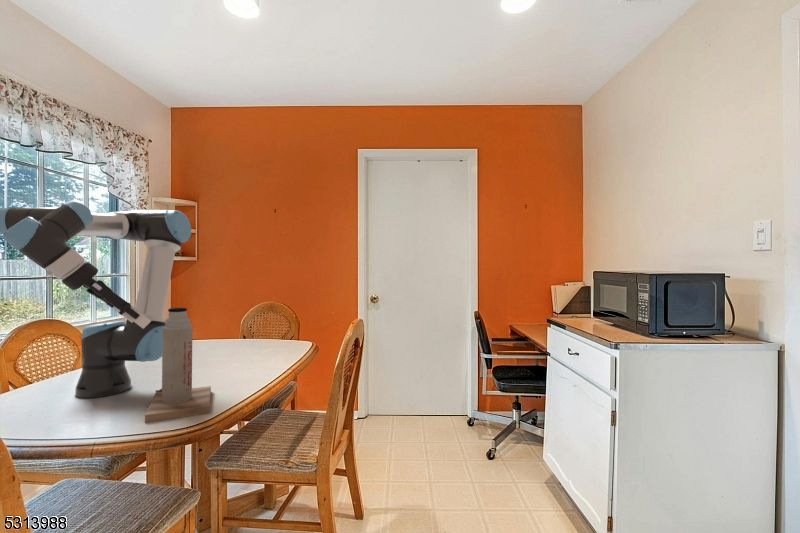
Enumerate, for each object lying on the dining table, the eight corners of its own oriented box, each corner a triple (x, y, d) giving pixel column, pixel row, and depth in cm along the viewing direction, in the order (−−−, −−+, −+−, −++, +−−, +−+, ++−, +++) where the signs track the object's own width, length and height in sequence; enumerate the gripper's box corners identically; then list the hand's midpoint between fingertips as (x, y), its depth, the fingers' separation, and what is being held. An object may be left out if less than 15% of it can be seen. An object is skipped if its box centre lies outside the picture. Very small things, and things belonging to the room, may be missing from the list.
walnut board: (155, 398, 125) (155, 392, 125) (210, 391, 132) (210, 386, 132) (144, 422, 107) (144, 415, 107) (209, 413, 114) (209, 406, 114)
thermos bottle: (197, 396, 122) (198, 307, 122) (178, 405, 114) (179, 310, 114) (175, 393, 124) (176, 306, 124) (155, 402, 116) (156, 309, 116)
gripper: (55, 278, 108) (121, 326, 119) (64, 283, 91) (140, 338, 101) (80, 259, 112) (141, 307, 123) (93, 260, 94) (163, 316, 105)
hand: (141, 321), depth 112 cm, fingers open, 13 cm apart
